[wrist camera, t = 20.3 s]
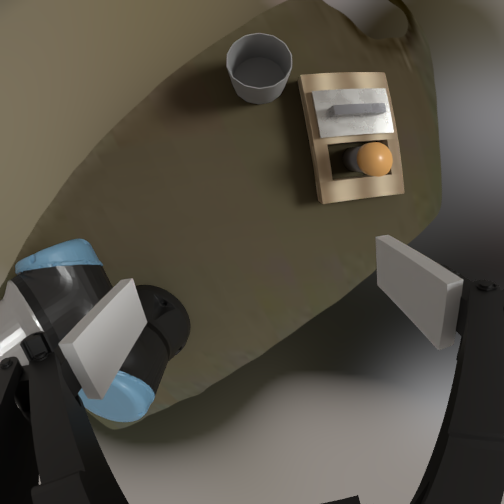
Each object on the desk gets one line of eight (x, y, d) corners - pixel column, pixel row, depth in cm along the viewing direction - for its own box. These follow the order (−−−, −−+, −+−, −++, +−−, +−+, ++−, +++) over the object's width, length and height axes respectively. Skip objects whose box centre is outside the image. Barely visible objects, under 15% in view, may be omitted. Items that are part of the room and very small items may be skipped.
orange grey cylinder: (342, 173, 45) (363, 177, 35) (339, 145, 44) (359, 142, 34) (368, 172, 45) (393, 175, 35) (365, 145, 43) (391, 142, 34)
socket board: (318, 201, 46) (322, 203, 43) (297, 81, 41) (300, 75, 37) (395, 191, 45) (404, 193, 42) (376, 77, 40) (384, 72, 36)
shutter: (319, 138, 40) (324, 136, 37) (310, 92, 38) (315, 86, 35) (391, 132, 39) (401, 131, 36) (383, 89, 37) (392, 84, 34)
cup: (224, 69, 40) (216, 47, 31) (270, 50, 39) (273, 25, 30) (246, 112, 42) (243, 99, 33) (294, 92, 41) (303, 75, 32)
